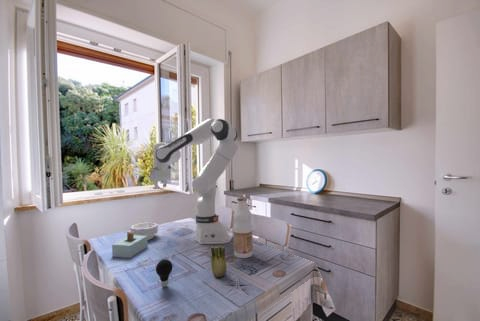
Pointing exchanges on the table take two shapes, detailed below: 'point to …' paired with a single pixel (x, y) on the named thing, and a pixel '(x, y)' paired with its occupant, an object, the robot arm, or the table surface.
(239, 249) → the fruit juice
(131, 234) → the walnut peg
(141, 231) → the paper bowls
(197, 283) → the table surface
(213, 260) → the fennel bulb
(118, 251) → the hole block
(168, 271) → the light bulb
